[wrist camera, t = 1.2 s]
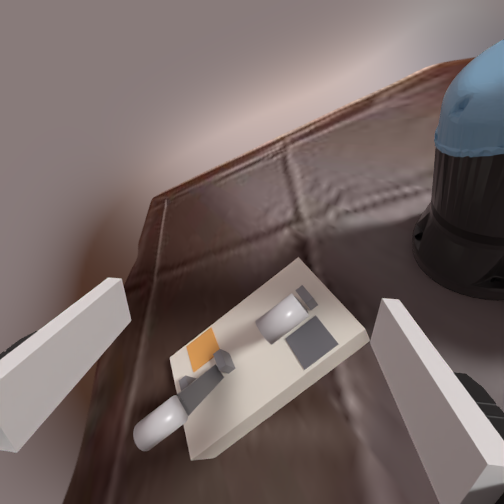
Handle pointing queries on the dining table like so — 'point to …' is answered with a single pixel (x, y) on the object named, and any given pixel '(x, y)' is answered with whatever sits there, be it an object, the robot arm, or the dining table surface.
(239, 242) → the dining table surface
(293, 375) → the console
